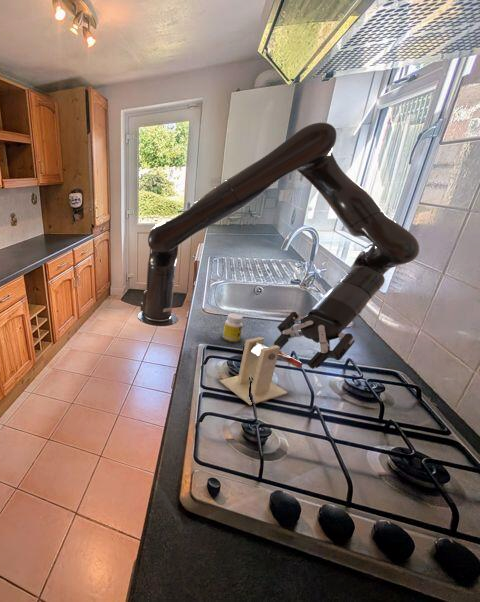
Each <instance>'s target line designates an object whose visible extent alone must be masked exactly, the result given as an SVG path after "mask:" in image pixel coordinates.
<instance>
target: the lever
mask: <svg viewBox="0 0 480 602" xmlns="http://www.w3.org/2000/svg"><path fill="white" fill-rule="evenodd" d="M267 347H268V346H267V345H265V344H263V345H262V344H259V343H255V345H254V347H253V348H252V350H251V352H252V353H254V354H255V355H257V356H260V352H261V349H263V348H267ZM277 360H282V361H284V362H287V363H288V364H290V365H292V366H294V367H296V368H297V369H300V368H302V366H303V362H301V361H300V360H298V359H296V358H294V357H292V356H291V355H289V354H286V353H284V352H283V351H281V350H279V354H278V358H277Z"/></svg>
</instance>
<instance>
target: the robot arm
mask: <svg viewBox="0 0 480 602" xmlns="http://www.w3.org/2000/svg"><path fill="white" fill-rule="evenodd" d="M337 135H338V134H337V129H336V128H335V127H334V126H333V124H331V123H328V122H315V123H311V124H308V125H306V126H304V127H303V128H301V129H299V130H298V131H297V132H295V133H294V134H293V135H291V136H290V137H288V138H287V139H286V140H285V141H284V142H282V143H280V144H279V145H278V146H277V147H276V148H274V149H273V150H272V151H270V152H269V153H268V154H265V156H263V157H261V158H260V159H259V160H257V161H255V162H254V163H252V164H250V165H248V166H246V167H245V168H244V169H242V170H240V171H239V172H238V173H237V172H236V174H234V175H233V176H231V177H229V178H228V179H226V180H225V181H222V182H221V183H219V184H218V185H217V186H215V187H214V188H212V189H211V190H209V191H208V192H206V193H205V194H204V195H203V196H201V197H200V198H199V199H198V200H196V201H195V202H194V203H193V204H192V205H191V206H190V207H189V208H187V209H186V210H185V211H183V212H182V213H180V214H178V215H177V216H175V217H173V218H171V219H169V220H167V221H161V222H159V223H157V224H155V226H154V227H152V229H150V232H149V234H148V238H147V245H148V247H149V256H148V261H147V268H146V269H147V270H146V286H145V287H146V288H145V290H144V291H143V296H142V302H141V303H140V312H141V311H142V316H144V317H145V318H146V319H147V320H149V321H153V322H167V321H169V320H170V319H171V312H173V311H172V310H173V300H174V291H175V290H174V289H175V280H176V271H177V270H176V269H177V262H178V255H179V254H178V253H179V246H180V245H181V244H182V243H184V242H185V241H187V240H188V239H190V238H191V237H192V236H194V235H195V234H197V233H199V232H200V231H201V232H202V231H203V230H205V229H207V228H209V227H211V226H213V225H215V224H217V223H219V222H220V221H222V220H224V219H226V218H229V217H230V216H232V215H234V214H235V213H237V212H239V211H240V210H242V209H243V208H245V207H247V206H248V205H250V204H251V203H253V201H255V200H256V199H257V198H259V197H260V196H261V195H262V194H263V193H265V191H267V190H268V189H269V188H270V187H271V186H272V185H274V184H275V183H276V182H278V181H279V180H281V179H283V178H284V177H285V176H287V175H289V174H291V173H293V172H295V171H297V172H298V173H299V174H300V175H301V176H303V177H304V178H305V179H306V180H307V181H308V182H309V183H310V184H311V185H312V186H313V187H314V188H315V189H316V190H317V192H319V193H320V195H321V196H322V197H323V198H324V200H325V201H326V203H327V204H328V205H329V207H330V208H331V210H332V211H333V212H334V213H335V215H336V217H337V218H338V219H339V221H340V222H341V224H342V225H343V226H344V227H345V229H346V230H347V232H348V233H349V234H350V235H351V236H352V237H355V238H362V237H364V238H366V239H367V240H369V242H370V244H369V245H367V246H365V247H364V249H362V250H361V252H359V254H358V255H357V257H356V258H355V259H354V261H353V262H352V265H351V266H350V269H349V270H348V271H347V272H346V273H345V274H344V275H343V276H342V277H341V278H340V279H339V281H338V282H337V283H335V284H334V285H333V286H332V287H330V289H328V291H327V292H326V293H325V294H323V296H322V297H321V298H320V299H319V300H318V301H317V303H316V304H315V305H314V306H313V307H312V308H311V309H310V310H309V312H308V314H306V315H305V316H302V315H299V314H298V312H297V311H291V312H290V314H289V315H288V316H287V317H286V318H284V320H283V321H282V322H280V323H279V324H278V325H277V329H278V330H279V332H280V335H279V336H278V337H277V339H275V340H274V341H273V346H275V345H277V346H279V347H280V350H282V348H284V346H285V345H286V344H287V343H288V342H289V341H290V340H291V339H293V338H300V337H304V338H306V339H308V340H312V341H313V342H315V343H317V344H319V345H320V351H317V352H316V353H315V354H314V355H313V356H312V357H311V358H310V360H309V361H308V362H307V366H308V368H310V369H312V370H314V369H318V368H320V367H321V365H323V363H324V362H326V360H327V359H334V360H335V361H340V360H342V358H343V357H344V356H345V355H346V353H347V352H348V351H349V349H350V348H351V347H353V345H354V343H355V342H356V340H355V338H354V336H353V334H352V333H350V332H347V333H345V332H342V331H343V330H346V328H347V327H348V326H349V325H350V324H351V323H352V322H353V321H354V320H355V318H357V316H359V315H360V314H361V313H362V311H363V310H364V309H365V308H366V306H367V304H368V303H369V302H370V301H371V299H372V298H373V297H374V296H375V295H376V294H377V293H378V292H379V290H381V288H382V287H383V286H384V284H385V281H386V279H385V276H384V275H385V274H386V273H387V272H388V271H389V270H391V269H393V268H396V267H399V266H403V265H406V264H408V263H411V262H412V261H415V259H417V258H418V256H419V254H420V244H419V241H418V239H417V238H416V236H414V234H412V233H411V232H410V231H409V230H408V229H406V228H405V227H403V226H402V225H400V224H399V223H397V222H396V221H395V220H393V219H392V218H390V217H388V216H387V215H386V214H385V212H384V211H383V210H382V207H380V206H379V204H378V203H377V202H376V201H375V199H374V198H373V197H372V196H371V195H370V194H369V192H368V191H366V190H365V189H364V188H363V187H362V186H360V185H359V184H358V183H357V182H356V181H355V180H353V179H351V178H350V177H349V176H348V175H347V174H346V173H345V172H344V171H343V170H342V169H341V167H340V166H339V164H338V163H337V160H336V159H335V156H334V154H333V150H334V148H335V145H336V143H337ZM295 324H296V325H295ZM336 339H338V341H339V342H338V343H337V344H336V346H334V347H333V349H331V341H332V340H336Z"/></svg>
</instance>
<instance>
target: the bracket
mask: <svg viewBox="0 0 480 602" xmlns="http://www.w3.org/2000/svg"><path fill="white" fill-rule="evenodd" d="M264 342H265V338H264V337H262V336H258V337H254V338H249V339H245V342H244V348H243V353H242V357H241V361H240V367H239V372H238V375H235V376H231V377H227V378H223V379H220V380H219V382H220V383H221V384H222V385H224V386H225V387H226V388H227V389H229V390H230V391H231V392H232V393H234V394H235V395H236V396H237V397H239V398H240V399H241V400H243V401H244V402H245V403H247V405H249V406H253V405H252V402H251V400H250V397H249V387H250V380H249V377H250V375H251V377H252V378H253V380H252V383H251V390H252V391H251V393H252V395H253V397H254V400H255V404H254V405H256V404H259V403H262V402H266V401H268V400H269V401H270V400H271V399H275V398H278V397H282V396H284V395H287V394H288V391H286V390H285V389H283V388H281V386H279V385H277V384H276V383H274V382H273V377H274V373H275V368H276V366H277V361H278V354H279V351H281V349H280V347H279V346H277V345H275V346H274V345H271V346H266V347H267V348H263V349H261V352H260V356H257V355H255V354H254V353H252V352H251V350H252V348H253V347H254V345H255V343H259V344H262V345H264Z"/></svg>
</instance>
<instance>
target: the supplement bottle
mask: <svg viewBox="0 0 480 602" xmlns="http://www.w3.org/2000/svg"><path fill="white" fill-rule="evenodd" d="M242 322H243V316H242V315H241V314H238V313H229V314H228V315H227V320H225V322H224V328H223V334H222V339H223V340H224V341H227V342H231V343H237V342H240V341H241V335H242V332H243V331H242V330H243V326H244V325H243V323H242Z"/></svg>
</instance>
